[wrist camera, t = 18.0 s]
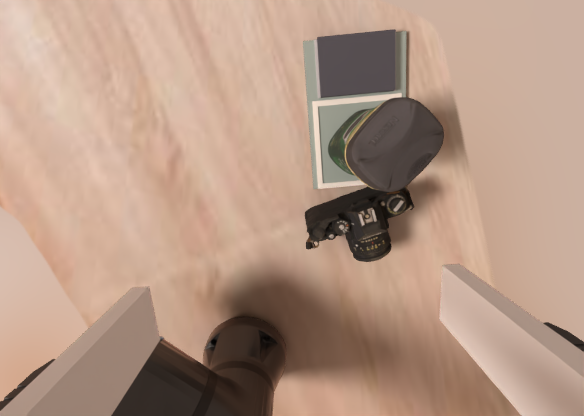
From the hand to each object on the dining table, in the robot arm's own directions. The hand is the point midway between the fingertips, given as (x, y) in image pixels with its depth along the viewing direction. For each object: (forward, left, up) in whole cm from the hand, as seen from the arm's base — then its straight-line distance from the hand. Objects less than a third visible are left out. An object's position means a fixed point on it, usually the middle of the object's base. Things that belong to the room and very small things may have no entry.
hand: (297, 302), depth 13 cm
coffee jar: (+11, +5, -35) cm, 37 cm away
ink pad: (+11, +16, -36) cm, 41 cm away
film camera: (+10, -7, -36) cm, 38 cm away
